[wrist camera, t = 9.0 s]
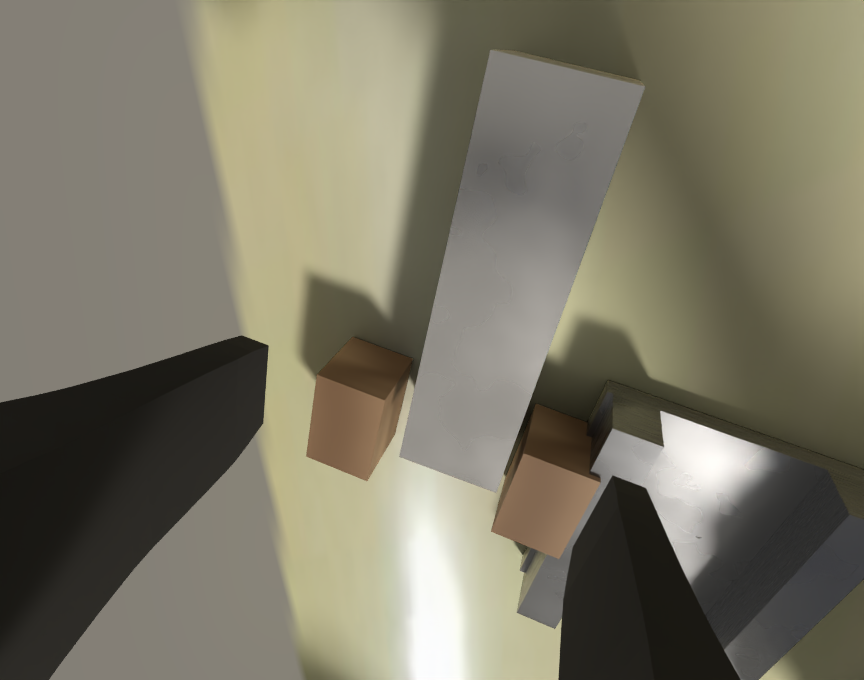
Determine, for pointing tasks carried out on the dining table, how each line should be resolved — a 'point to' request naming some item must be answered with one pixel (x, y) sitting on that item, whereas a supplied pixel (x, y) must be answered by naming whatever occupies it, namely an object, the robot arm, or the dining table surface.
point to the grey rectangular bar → (513, 254)
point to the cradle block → (725, 522)
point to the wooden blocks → (527, 476)
